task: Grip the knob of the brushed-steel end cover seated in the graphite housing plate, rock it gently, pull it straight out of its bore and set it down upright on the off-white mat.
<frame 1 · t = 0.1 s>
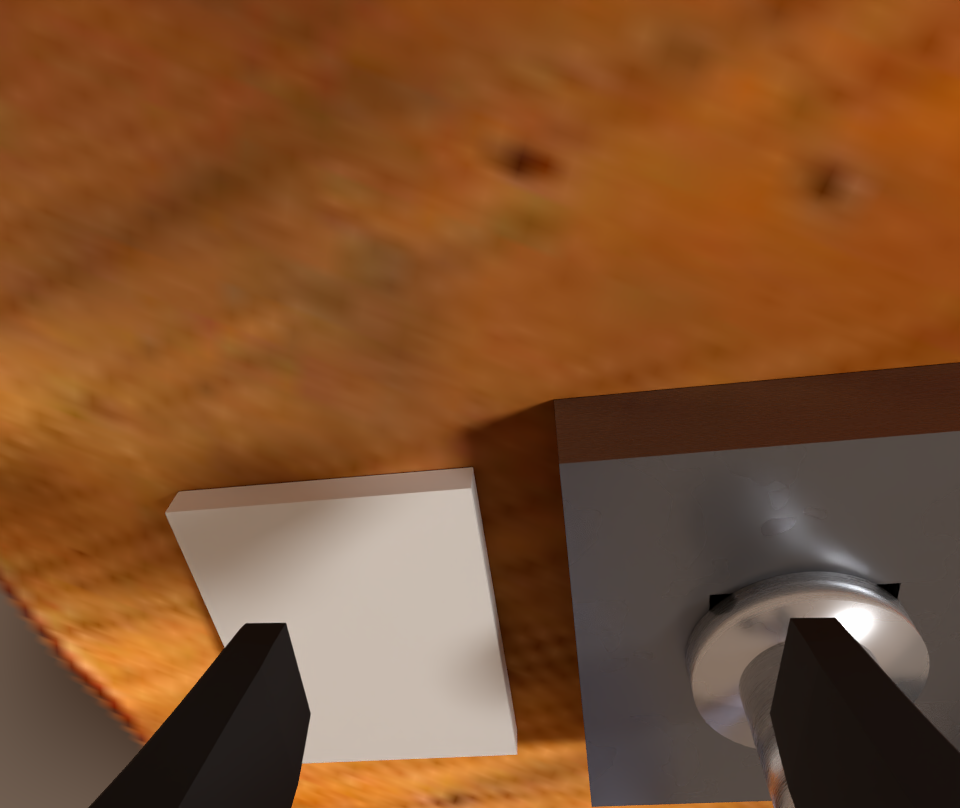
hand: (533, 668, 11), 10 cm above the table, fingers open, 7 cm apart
mat: (365, 622, 25), on the table
housing: (764, 575, 23), on the table
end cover: (768, 584, 23), resting in housing
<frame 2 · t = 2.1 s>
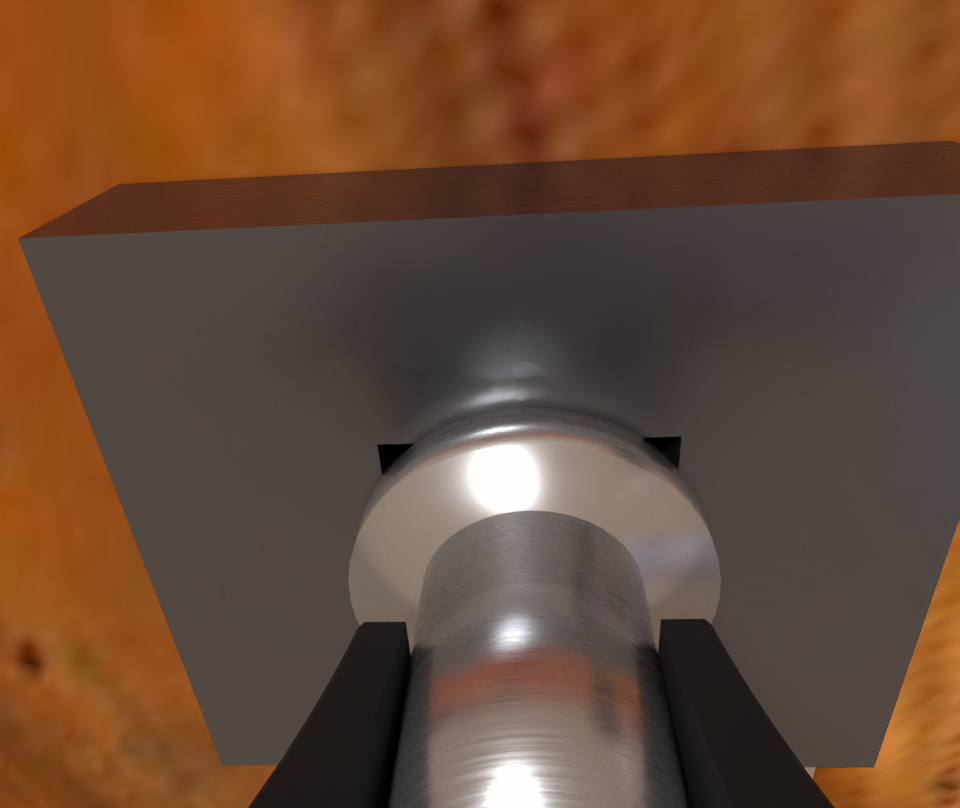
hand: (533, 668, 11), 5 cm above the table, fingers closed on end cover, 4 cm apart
housing: (528, 457, 15), on the table
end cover: (529, 468, 15), resting in housing, touching gripper
when the fingers open (7 cm above the table, at t = 7.6 s): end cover drops 1 cm, resting on mat.
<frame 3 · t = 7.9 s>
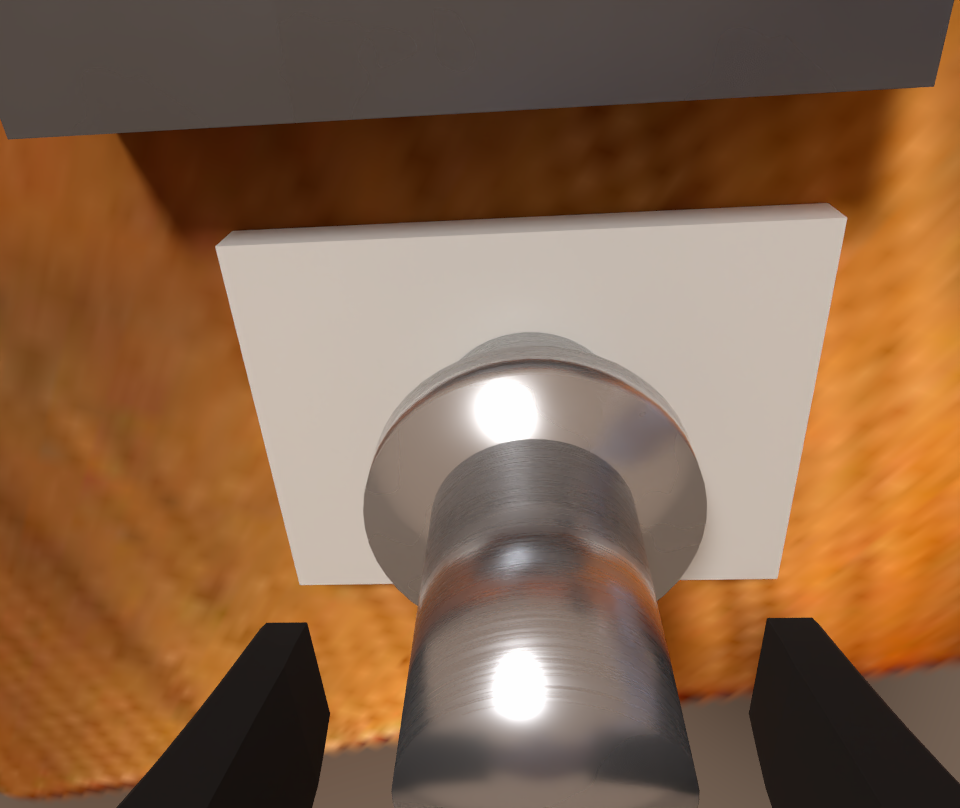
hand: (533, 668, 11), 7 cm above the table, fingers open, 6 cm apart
mat: (527, 408, 17), on the table
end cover: (528, 415, 16), point 1 cm above the table, touching mat
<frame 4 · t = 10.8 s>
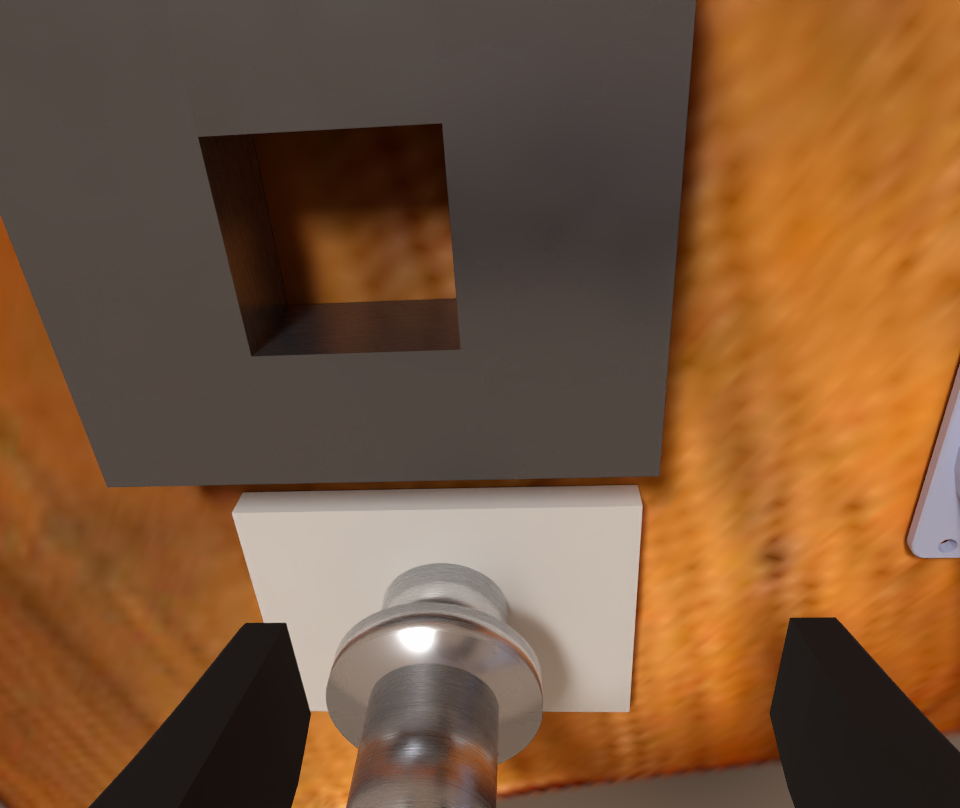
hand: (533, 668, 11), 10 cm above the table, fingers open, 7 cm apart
mat: (448, 597, 24), on the table
housing: (364, 210, 18), on the table
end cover: (445, 610, 23), point 1 cm above the table, touching mat
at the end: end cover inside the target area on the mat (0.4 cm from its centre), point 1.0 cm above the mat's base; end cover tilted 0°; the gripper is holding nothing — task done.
